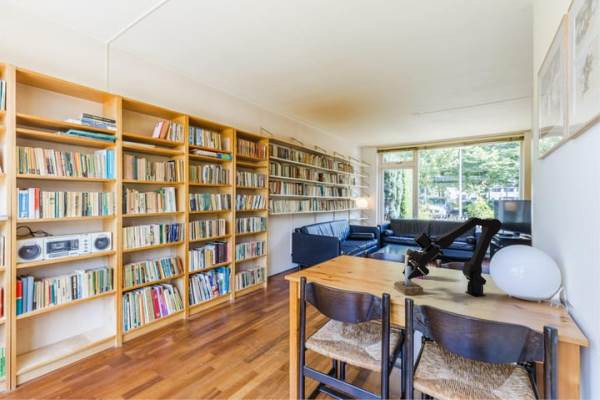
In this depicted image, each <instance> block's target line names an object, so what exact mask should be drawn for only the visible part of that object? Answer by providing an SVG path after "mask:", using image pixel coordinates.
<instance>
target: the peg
mask: <svg viewBox="0 0 600 400" xmlns="http://www.w3.org/2000/svg"><path fill="white" fill-rule="evenodd" d="M404 269H405V276H404V281H405V286H406V287H411V281H412V279H408V276H409V275H410V274H411V266H405V265H404Z"/></svg>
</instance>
